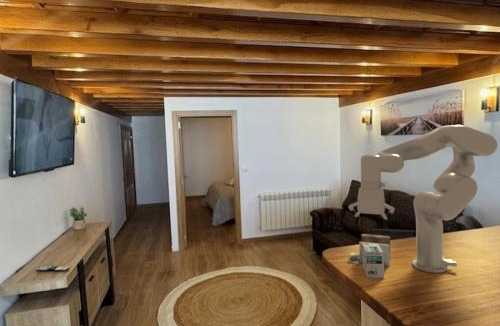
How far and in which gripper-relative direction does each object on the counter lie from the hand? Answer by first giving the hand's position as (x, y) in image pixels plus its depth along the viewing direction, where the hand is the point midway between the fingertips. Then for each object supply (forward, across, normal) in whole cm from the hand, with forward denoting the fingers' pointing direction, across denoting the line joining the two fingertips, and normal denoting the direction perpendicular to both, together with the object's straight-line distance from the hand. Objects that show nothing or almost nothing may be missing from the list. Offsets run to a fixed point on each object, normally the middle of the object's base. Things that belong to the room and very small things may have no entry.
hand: (370, 227), depth 122 cm
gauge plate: (+19, +2, -9) cm, 21 cm away
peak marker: (+19, +8, -10) cm, 23 cm away
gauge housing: (+19, +2, -13) cm, 23 cm away
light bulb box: (+19, -1, 0) cm, 19 cm away
